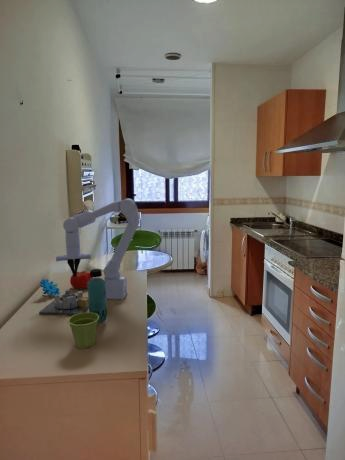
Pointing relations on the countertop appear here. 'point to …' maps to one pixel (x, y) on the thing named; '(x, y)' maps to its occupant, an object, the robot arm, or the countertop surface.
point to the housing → (64, 296)
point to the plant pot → (84, 329)
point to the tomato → (80, 280)
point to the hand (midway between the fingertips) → (74, 275)
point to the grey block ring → (71, 301)
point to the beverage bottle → (97, 295)
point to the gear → (49, 287)
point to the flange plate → (62, 310)
